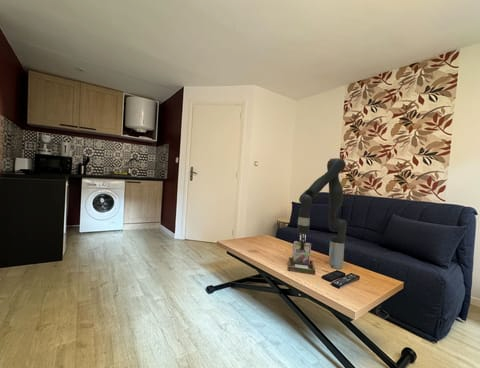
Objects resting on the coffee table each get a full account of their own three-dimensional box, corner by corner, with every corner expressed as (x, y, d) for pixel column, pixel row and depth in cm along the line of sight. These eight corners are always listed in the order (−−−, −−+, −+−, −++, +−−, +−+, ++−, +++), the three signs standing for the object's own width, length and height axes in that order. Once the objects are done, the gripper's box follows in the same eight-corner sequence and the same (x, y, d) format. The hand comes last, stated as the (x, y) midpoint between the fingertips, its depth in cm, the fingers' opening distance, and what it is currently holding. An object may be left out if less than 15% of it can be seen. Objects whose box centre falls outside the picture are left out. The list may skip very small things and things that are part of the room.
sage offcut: (294, 267, 149) (294, 264, 149) (307, 269, 147) (307, 265, 147) (295, 270, 143) (295, 267, 143) (308, 272, 141) (308, 269, 141)
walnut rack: (288, 263, 160) (288, 257, 160) (312, 266, 156) (312, 260, 156) (287, 273, 141) (288, 266, 141) (314, 277, 138) (315, 270, 138)
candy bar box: (291, 266, 154) (293, 242, 154) (292, 264, 158) (294, 240, 158) (308, 270, 149) (310, 245, 149) (309, 267, 154) (311, 243, 154)
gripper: (297, 222, 161) (295, 244, 161) (298, 225, 147) (296, 250, 147) (308, 223, 160) (306, 246, 159) (310, 226, 146) (308, 251, 146)
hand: (301, 248), depth 153 cm, fingers open, 8 cm apart
